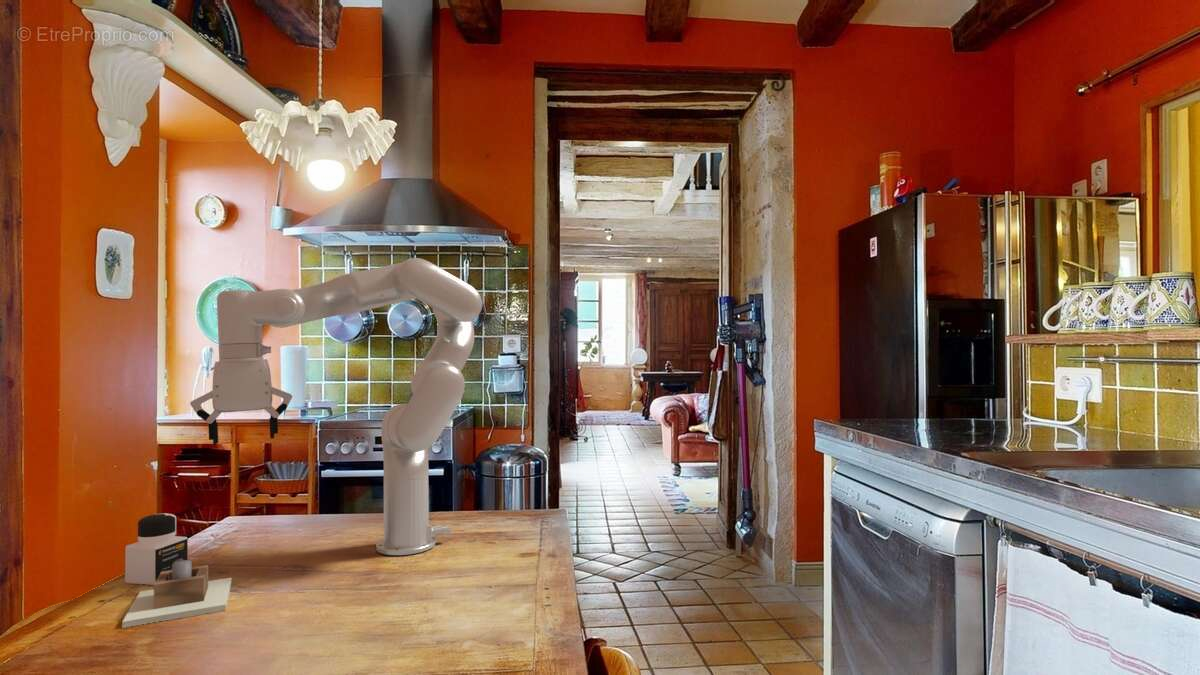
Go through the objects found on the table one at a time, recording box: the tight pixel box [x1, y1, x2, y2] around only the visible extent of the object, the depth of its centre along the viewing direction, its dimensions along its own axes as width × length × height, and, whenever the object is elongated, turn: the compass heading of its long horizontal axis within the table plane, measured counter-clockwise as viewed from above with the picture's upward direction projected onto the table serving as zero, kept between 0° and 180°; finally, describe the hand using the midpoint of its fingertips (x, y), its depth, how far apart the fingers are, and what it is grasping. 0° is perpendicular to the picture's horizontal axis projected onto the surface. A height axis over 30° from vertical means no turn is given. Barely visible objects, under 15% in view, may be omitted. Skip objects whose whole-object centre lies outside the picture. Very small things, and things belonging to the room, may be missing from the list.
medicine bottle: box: [124, 512, 189, 586], centre depth 119 cm, size 7×7×12 cm
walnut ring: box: [153, 564, 209, 609], centre depth 107 cm, size 7×7×4 cm
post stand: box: [121, 559, 233, 629], centre depth 107 cm, size 14×14×7 cm
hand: (244, 440), depth 121 cm, fingers open, 9 cm apart
